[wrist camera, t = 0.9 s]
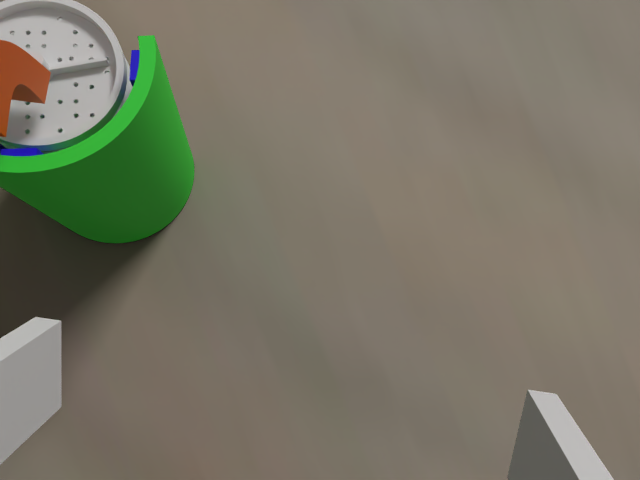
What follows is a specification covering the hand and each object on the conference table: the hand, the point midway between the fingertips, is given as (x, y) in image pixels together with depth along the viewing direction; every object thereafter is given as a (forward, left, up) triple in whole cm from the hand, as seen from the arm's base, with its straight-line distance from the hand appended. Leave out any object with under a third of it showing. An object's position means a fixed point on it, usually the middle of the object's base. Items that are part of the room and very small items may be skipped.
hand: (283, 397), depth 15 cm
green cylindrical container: (+10, +11, -18) cm, 23 cm away
